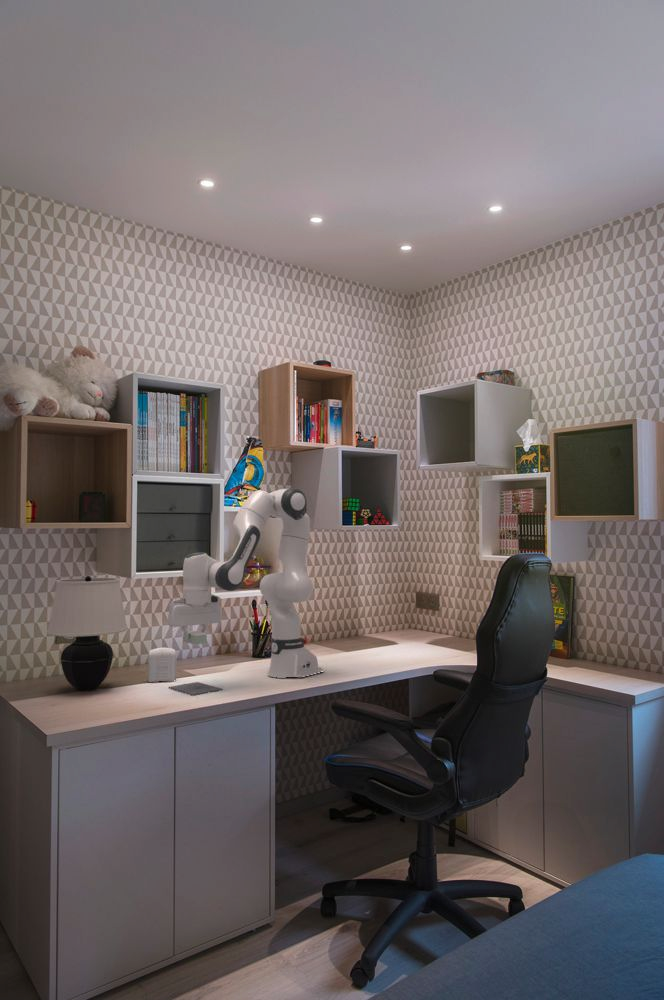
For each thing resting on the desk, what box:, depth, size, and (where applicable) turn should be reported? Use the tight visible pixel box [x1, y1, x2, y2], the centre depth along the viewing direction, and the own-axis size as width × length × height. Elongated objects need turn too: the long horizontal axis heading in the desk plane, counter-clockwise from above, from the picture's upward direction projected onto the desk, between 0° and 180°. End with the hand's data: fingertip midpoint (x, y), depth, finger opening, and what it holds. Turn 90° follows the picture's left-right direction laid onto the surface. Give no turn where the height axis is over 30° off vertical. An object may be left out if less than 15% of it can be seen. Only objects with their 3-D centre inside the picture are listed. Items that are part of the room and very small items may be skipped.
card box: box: [182, 630, 207, 645], centre depth 248 cm, size 8×4×4 cm, turn 43°
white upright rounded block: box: [147, 647, 177, 683], centre depth 262 cm, size 10×4×12 cm, turn 104°
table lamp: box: [46, 575, 128, 692], centre depth 249 cm, size 27×27×40 cm
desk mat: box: [167, 681, 223, 696], centre depth 248 cm, size 12×16×1 cm
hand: (194, 637), depth 248 cm, fingers closed on card box, 4 cm apart
